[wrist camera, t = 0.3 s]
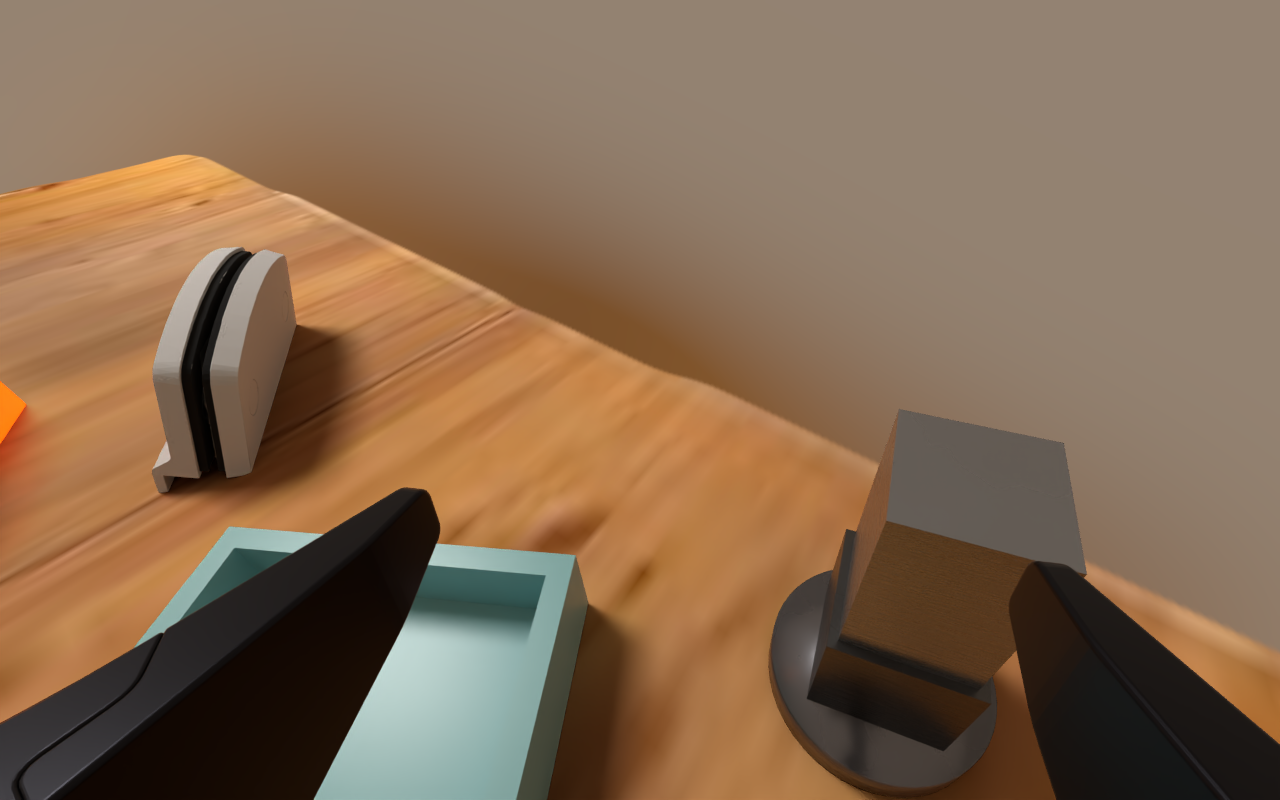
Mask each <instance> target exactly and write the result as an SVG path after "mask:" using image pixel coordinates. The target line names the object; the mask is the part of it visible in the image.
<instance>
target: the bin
mask: <svg viewBox="0 0 1280 800" xmlns="http://www.w3.org/2000/svg"><path fill="white" fill-rule="evenodd" d="M322 535H323V534H313V533H301V532H289V531H277V530H265V529H253V528H241V527H229V528H228V529H227V530H226V531H225V533H224V534H223V535H222V537H221V538H220V539H219V540H218V542H217V543H216V544H215V545H214V547H213V548H212V549H211V551H210V552H209V553H208V554H207V556H206V557H205V558H204V559H203V561H202V562H201V563H200V564H199V566H198V567H197V568H196V570H195V571H194V572H193V573H192V575H191V576H190V577H189V578H188V580H187V581H186V582H185V583H184V585H183V586H182V587H181V589H180V590H179V591H178V592H177V594H176V595H175V596H174V597H173V599H172V600H171V601H170V603H169V604H168V605H167V606H166V608H165V609H164V610H163V611H162V613H161V614H160V615H159V616H158V618H157V619H156V620H155V622H154V623H153V624H152V625H151V627H150V628H149V629H148V630H147V632H146V633H145V634H144V636H143V637H142V638H141V639H140V641H139V642H138V643H137V644H136V646H135V647H137V646H138V645H140V644H142V643H143V642H145V641H147V640H148V639H150V638H152V637H153V636H155V635H157V634H158V633H164V632H165V630H166V629H167V628H168V627H170V626H172V625H173V624H175V623H177V622H178V621H180V620H182V619H183V618H185V617H187V616H188V615H190V614H192V613H193V612H195V611H197V610H198V609H200V608H202V607H203V606H205V605H207V604H208V603H210V602H212V601H213V600H215V599H217V598H218V597H220V596H222V595H223V594H225V593H227V592H228V591H230V590H232V589H233V588H235V587H237V586H239V585H240V584H242V583H244V582H245V581H247V580H249V579H250V578H252V577H254V576H255V575H257V574H258V573H260V572H262V571H263V570H265V569H267V568H268V567H270V566H272V565H273V564H275V563H277V562H278V561H280V560H282V559H283V558H285V557H287V556H288V555H290V554H292V553H293V552H295V551H297V550H298V549H300V548H302V547H303V546H305V545H307V544H308V543H310V542H312V541H313V540H315V539H317V538H318V537H320V536H322ZM587 607H588V600H587V596H586V592H585V588H584V585H583V581H582V577H581V573H580V570H579V566H578V562H577V558H576V555H566V554H554V553H542V552H530V551H518V550H506V549H494V548H482V547H470V546H458V545H446V544H436V546H435V549H434V551H433V554H432V557H431V559H430V562H429V564H428V567H427V569H426V572H425V574H424V577H423V579H422V582H421V584H420V587H419V589H418V592H417V595H416V597H415V600H414V602H413V605H412V607H411V610H410V612H409V614H408V617H407V619H406V621H405V623H404V625H403V628H402V630H401V632H400V634H399V636H398V638H397V640H396V642H395V643H394V645H393V647H392V649H391V651H390V653H389V655H388V657H387V659H386V661H385V663H384V665H383V667H382V669H381V671H380V672H379V674H378V676H377V678H376V680H375V682H374V684H373V686H372V688H371V690H370V692H369V694H368V696H367V698H366V700H365V701H364V703H363V705H362V707H361V709H360V711H359V713H358V715H357V717H356V719H355V721H354V723H353V725H352V727H351V729H350V730H349V732H348V734H347V736H346V738H345V740H344V742H343V744H342V746H341V748H340V750H339V752H338V754H337V756H336V758H335V759H334V761H333V763H332V765H331V767H330V769H329V771H328V773H327V775H326V777H325V779H324V781H323V783H322V785H321V787H320V789H319V790H318V792H317V794H316V796H315V798H314V800H547V797H548V792H549V787H550V783H551V778H552V773H553V768H554V764H555V759H556V754H557V749H558V744H559V740H560V735H561V730H562V725H563V721H564V716H565V711H566V706H567V702H568V697H569V692H570V687H571V683H572V678H573V673H574V668H575V664H576V659H577V654H578V649H579V645H580V640H581V635H582V630H583V626H584V621H585V616H586V611H587ZM135 647H134V648H135Z"/></svg>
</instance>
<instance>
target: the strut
mask: <svg viewBox="0 0 1280 800" xmlns="http://www.w3.org/2000/svg"><path fill="white" fill-rule="evenodd" d="M1033 561H1044V562H1052V563H1060V564H1065V565H1067V566H1069V567H1071V568H1072V569H1074V570H1075V571H1076V572H1077V573H1078V574H1080V575H1081V576H1082V577H1083V578H1084V577H1085V576H1086V575H1087V573H1086V567H1085V561H1084V556H1083V550H1082V544H1081V538H1080V533H1079V527H1078V521H1077V516H1076V510H1075V504H1074V499H1073V493H1072V487H1071V482H1070V476H1069V470H1068V465H1067V459H1066V453H1065V448H1064V443H1061V442H1056V441H1051V440H1046V439H1041V438H1036V437H1031V436H1027V435H1022V434H1017V433H1012V432H1007V431H1002V430H997V429H993V428H988V427H983V426H978V425H973V424H969V423H963V422H959V421H954V420H949V419H944V418H940V417H934V416H930V415H925V414H920V413H915V412H910V411H905V410H900V409H899V410H898V413H897V416H896V419H895V422H894V424H893V427H892V430H891V433H890V436H889V439H888V442H887V444H886V448H885V450H884V453H883V456H882V459H881V462H880V465H879V467H878V470H877V473H876V476H875V479H874V482H873V485H872V488H871V490H870V493H869V496H868V499H867V502H866V505H865V508H864V511H863V513H862V516H861V519H860V522H859V525H858V528H857V531H856V532H855V531H851V530H848V529H846V532H845V535H844V538H843V541H842V544H841V547H840V550H839V553H838V556H837V559H836V563H835V566H834V569H833V572H832V575H831V578H830V581H829V584H828V587H827V590H826V596H825V601H824V607H823V612H822V618H821V623H820V629H819V634H818V639H817V645H816V650H815V656H814V661H813V667H812V672H811V678H810V683H809V688H808V694H807V699H808V700H811V701H813V702H816V703H819V704H821V705H824V706H826V707H829V708H832V709H834V710H837V711H839V712H842V713H845V714H847V715H850V716H852V717H855V718H858V719H860V720H863V721H866V722H868V723H871V724H873V725H876V726H879V727H881V728H884V729H886V730H889V731H892V732H894V733H897V734H899V735H902V736H905V737H907V738H910V739H913V740H915V741H918V742H920V743H923V744H926V745H928V746H931V747H933V748H936V749H939V750H941V751H945V750H946V749H947V748H948V747H949V746H950V745H951V744H952V743H953V742H954V741H955V740H956V739H957V738H958V737H959V736H960V735H961V734H962V733H963V732H964V731H965V730H966V729H967V728H968V727H969V726H970V725H971V724H972V723H973V722H974V721H975V720H976V719H977V718H978V717H979V716H980V715H981V714H982V713H983V712H984V711H985V710H986V709H987V708H988V707H989V706H990V705H991V704H992V700H991V677H992V676H993V675H994V674H995V673H996V672H997V671H998V670H999V668H1000V667H1001V666H1002V665H1003V664H1004V663H1005V662H1006V661H1007V660H1008V659H1009V658H1010V657H1011V656H1012V654H1013V653H1014V652H1015V651H1016V645H1015V640H1014V635H1013V631H1012V626H1011V621H1010V616H1009V600H1010V597H1011V595H1012V593H1013V591H1014V589H1015V587H1016V585H1017V583H1018V582H1019V580H1020V578H1021V576H1022V574H1023V572H1024V570H1025V569H1026V567H1027V565H1028V564H1029V563H1031V562H1033Z"/></svg>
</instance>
